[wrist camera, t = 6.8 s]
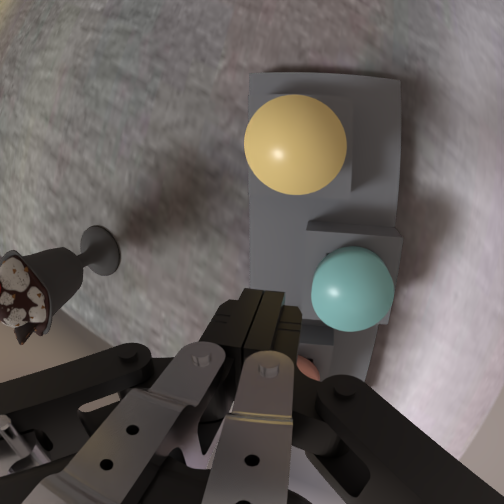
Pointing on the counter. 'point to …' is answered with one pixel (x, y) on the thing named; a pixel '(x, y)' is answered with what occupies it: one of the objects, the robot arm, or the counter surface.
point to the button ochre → (295, 144)
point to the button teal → (352, 289)
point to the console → (330, 208)
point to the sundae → (49, 281)
